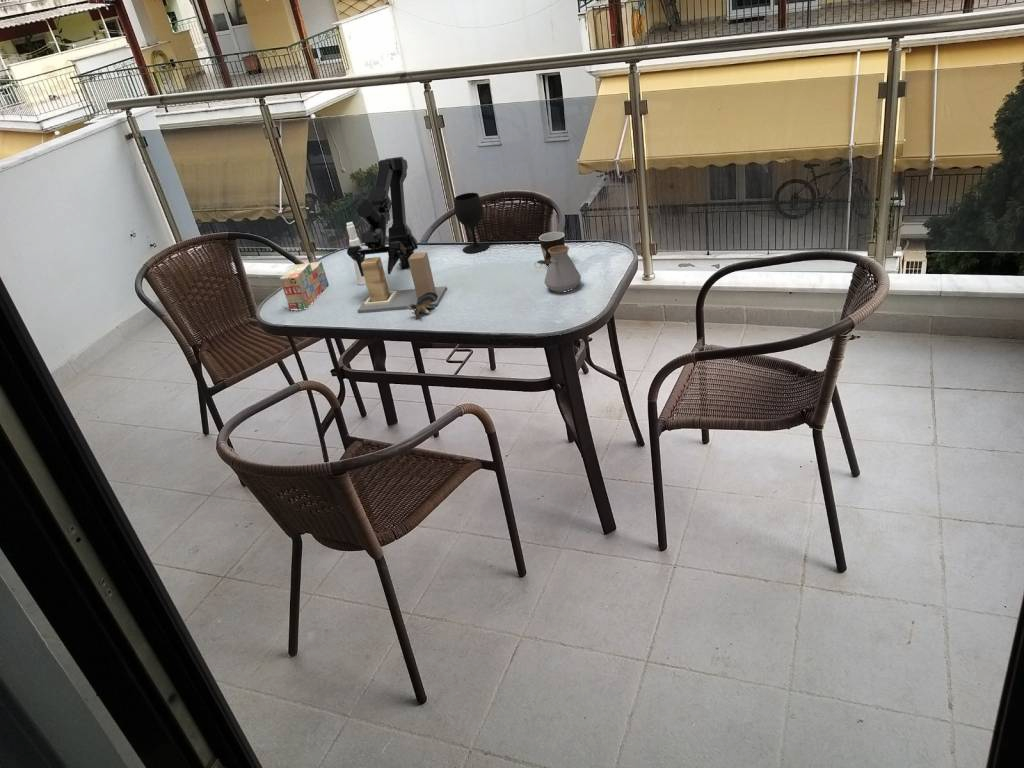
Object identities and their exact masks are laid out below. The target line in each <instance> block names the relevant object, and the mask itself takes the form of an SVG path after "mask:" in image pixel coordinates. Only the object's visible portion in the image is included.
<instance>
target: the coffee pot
mask: <svg viewBox="0 0 1024 768" xmlns="http://www.w3.org/2000/svg"><path fill="white" fill-rule="evenodd" d="M569 250H570V247H569V246H568V245H565V246H563V245H562V246H555V247H552V248H549V249H548V252H549V253H550V255H551V259H550V261H549V260H544V259H540V260H537V261H536V262H535V264H540V266H539V267H537V266H536V265H534V268H536V269H539V268H541V267H542V265H546V264H549V266H548V267H547V271H546V273H545V277H544V284H545V286H546V287H547V288H548V289H550V290H551V291H552V290H553V291H552V292H554V291H556V292H555V293H558V292H562V293H565V292H564V291H568V290H571V289H573V290H574V289H576V287H577V286H578V285H579V284H580V282H581V279H582V277H581V276H582V275H581V274H580V272H579V271H578V268H577V267H576V266H575V264H574V263H573V261H572V260H571V257H570V256H569V255H568V253H569ZM571 291H572V290H571ZM568 292H569V291H568Z"/></svg>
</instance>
